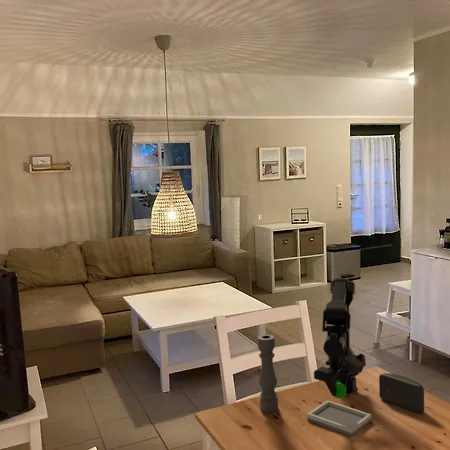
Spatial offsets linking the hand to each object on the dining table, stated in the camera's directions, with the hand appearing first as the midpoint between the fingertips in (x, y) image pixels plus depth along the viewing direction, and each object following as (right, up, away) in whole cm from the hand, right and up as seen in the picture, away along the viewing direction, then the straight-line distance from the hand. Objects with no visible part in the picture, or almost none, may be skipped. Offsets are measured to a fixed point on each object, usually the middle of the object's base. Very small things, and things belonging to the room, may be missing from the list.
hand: (338, 392), depth 158 cm
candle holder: (-21, -9, +12) cm, 26 cm away
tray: (0, -9, +1) cm, 9 cm away
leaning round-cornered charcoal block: (+23, -7, +8) cm, 25 cm away
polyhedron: (0, -2, 0) cm, 2 cm away
